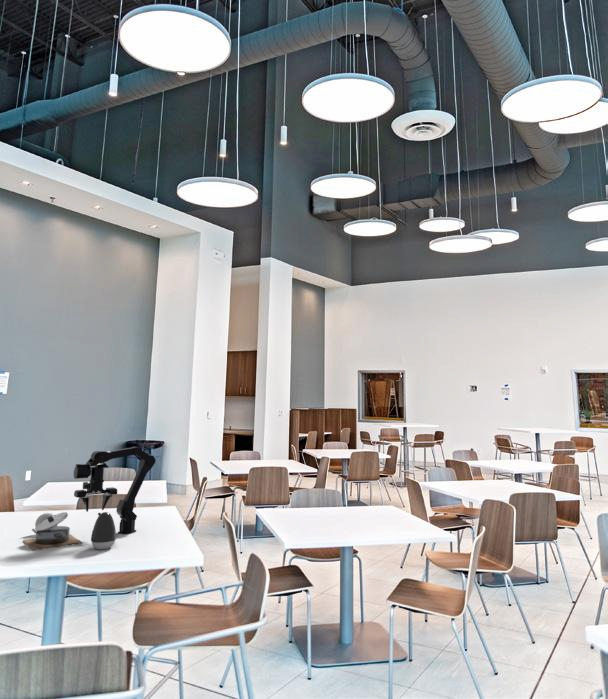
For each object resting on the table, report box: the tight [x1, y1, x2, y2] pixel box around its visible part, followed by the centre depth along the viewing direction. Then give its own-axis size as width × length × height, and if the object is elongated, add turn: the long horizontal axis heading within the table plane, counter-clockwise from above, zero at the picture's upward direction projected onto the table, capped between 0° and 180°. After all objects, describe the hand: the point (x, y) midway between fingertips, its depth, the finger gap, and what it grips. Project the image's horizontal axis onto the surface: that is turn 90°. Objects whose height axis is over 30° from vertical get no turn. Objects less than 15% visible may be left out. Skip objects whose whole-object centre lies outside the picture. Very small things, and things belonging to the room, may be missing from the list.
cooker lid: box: [31, 511, 69, 534], centre depth 229 cm, size 15×14×3 cm
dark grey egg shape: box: [90, 511, 117, 551], centre depth 221 cm, size 10×10×15 cm
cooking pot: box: [35, 525, 71, 545], centre depth 229 cm, size 14×22×5 cm, turn 40°
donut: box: [34, 512, 59, 528], centre depth 246 cm, size 10×4×10 cm, turn 110°
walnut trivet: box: [22, 533, 83, 551], centre depth 229 cm, size 20×20×1 cm
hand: (94, 510), depth 242 cm, fingers open, 7 cm apart
